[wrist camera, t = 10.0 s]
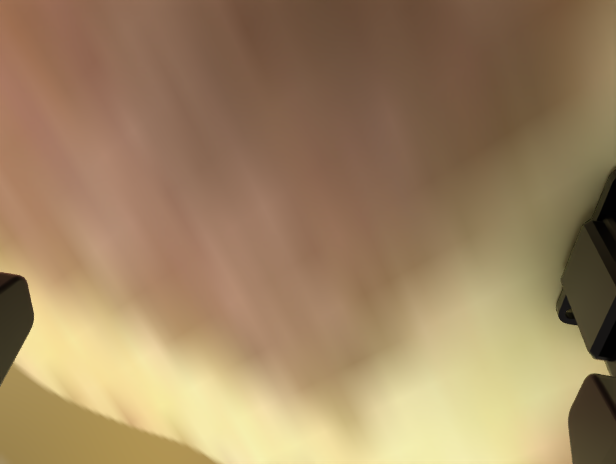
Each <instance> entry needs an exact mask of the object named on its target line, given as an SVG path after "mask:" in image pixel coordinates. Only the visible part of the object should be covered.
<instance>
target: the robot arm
mask: <svg viewBox="0 0 616 464" xmlns="http://www.w3.org/2000/svg"><path fill="white" fill-rule="evenodd" d="M561 283H562V285H563V290H562V293H561V295H560V298H559V300H558V303H557V305H556V311H557V314H558V317H559V319H560V320H561V321H562V322H564V323H567V324H571V325H578V327H579V329H580V332H581V335H582V337H583V340H584V342H585V345H586V347H587V350H588V352H589V353H590V354H591V356H592V357H593V358H594V359H597V360H603V361H605V364H606V366H607V368H608V371H609V373H610V376H607V375H601V374H590V375H588V376H587V377H586V378H585V380H584V382H583V384H582V386H581V388H580V390H579V392H578V394H577V396H576V398H575V400H574V402H573V404H572V406H571V409H570V412H569V417H568V428H569V436H570V445H571V454H572V463H573V464H616V170H614V171H613V172H612V173H611V175H610V176H609V178H608V180H607V183H606V185H605V188H604V190H603V193H602V195H601V197H600V200H599V202H598V205H597V207H596V210H595V212H594V215H593V217H592V219H591V220H589V221H588V222H586V223H585V224H583V225H582V228H581V230H580V233H579V235H578V238H577V240H576V242H575V245H574V247H573V250H572V252H571V255H570V257H569V260H568V262H567V265H566V267H565V270H564V272H563V275H562V277H561ZM569 309H572V311H573V312H566V311H567V310H569ZM33 321H34V312H33V307H32V303H31V298H30V293H29V288H28V284H27V281H26V280H25V278H24V277H22V276H20V275H15V274H9V273H3V272H0V386H1V384H2V382H3V381H4V379H5V377H6V375H7V373H8V371H9V369H10V367H11V366H12V364H13V362H14V360H15V358H16V356H17V354H18V353H19V351H20V349H21V347H22V345H23V343H24V341H25V340H26V338H27V336H28V334H29V332H30V330H31V328H32V325H33Z"/></svg>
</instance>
